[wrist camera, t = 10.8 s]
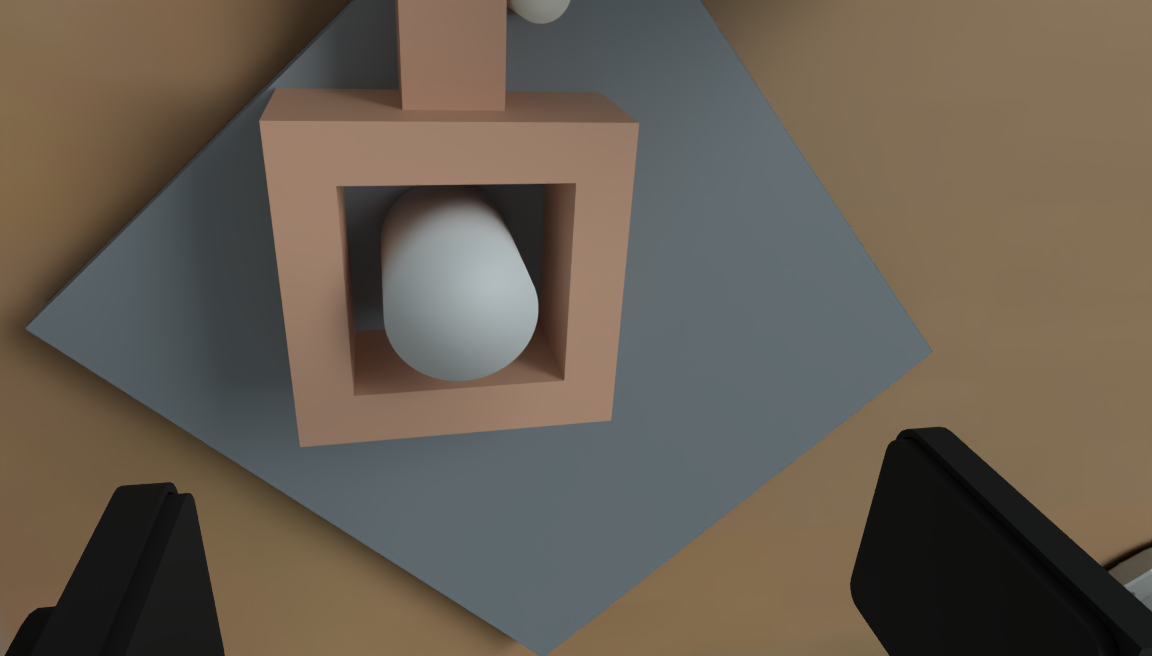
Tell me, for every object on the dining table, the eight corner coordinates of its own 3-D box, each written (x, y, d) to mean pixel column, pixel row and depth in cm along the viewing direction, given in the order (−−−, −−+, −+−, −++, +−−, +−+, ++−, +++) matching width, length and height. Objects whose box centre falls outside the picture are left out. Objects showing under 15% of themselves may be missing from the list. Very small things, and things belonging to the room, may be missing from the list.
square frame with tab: (254, -98, 15) (231, -99, 12) (611, -75, 16) (657, -71, 14) (308, 376, 20) (299, 447, 17) (581, 358, 21) (611, 420, 19)
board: (909, 333, 25) (1027, 425, 21) (536, 629, 27) (569, 770, 23) (552, -198, 16) (623, -241, 12) (43, 305, 18) (-60, 431, 14)
